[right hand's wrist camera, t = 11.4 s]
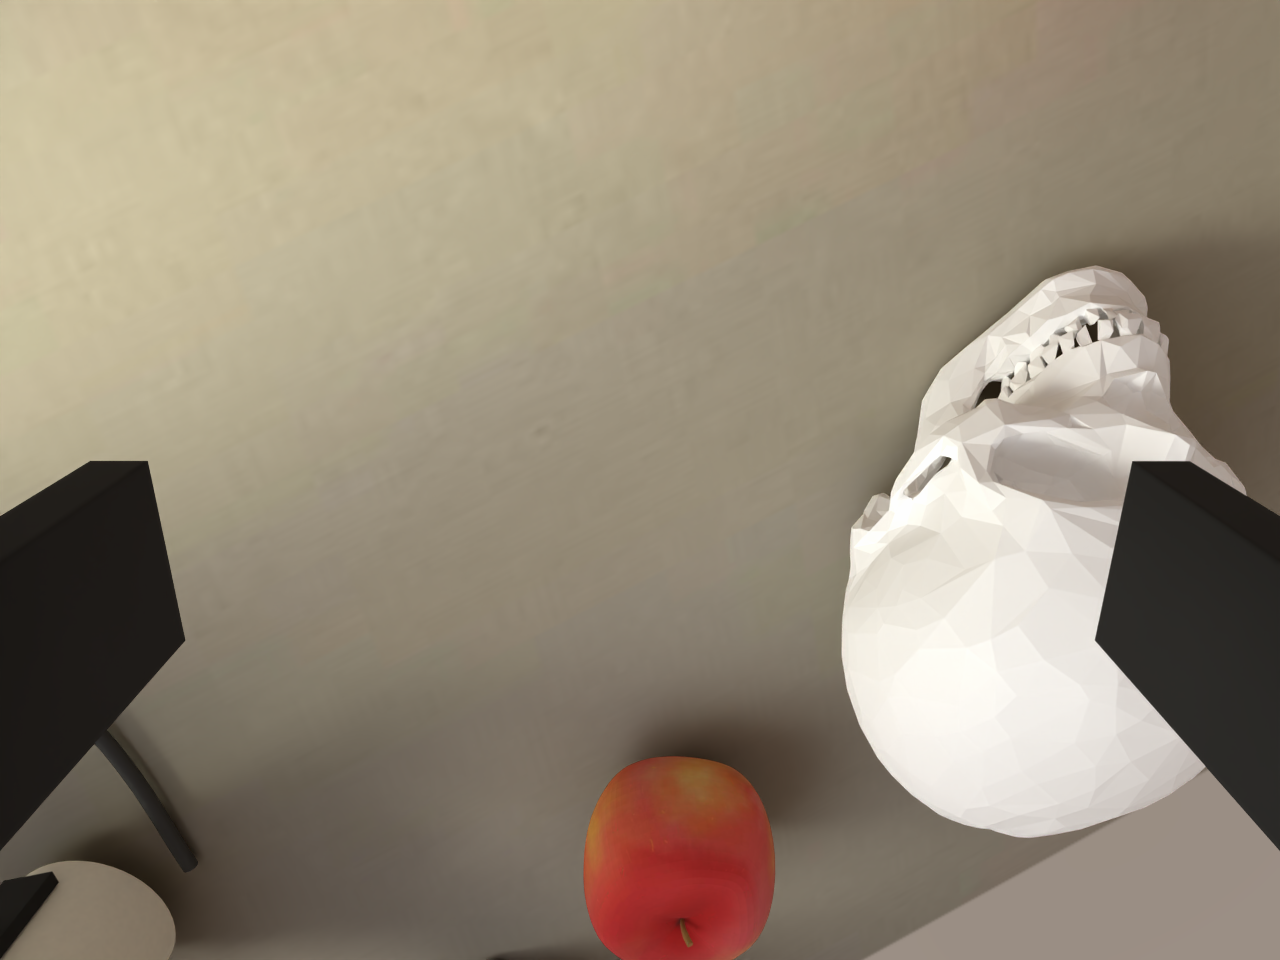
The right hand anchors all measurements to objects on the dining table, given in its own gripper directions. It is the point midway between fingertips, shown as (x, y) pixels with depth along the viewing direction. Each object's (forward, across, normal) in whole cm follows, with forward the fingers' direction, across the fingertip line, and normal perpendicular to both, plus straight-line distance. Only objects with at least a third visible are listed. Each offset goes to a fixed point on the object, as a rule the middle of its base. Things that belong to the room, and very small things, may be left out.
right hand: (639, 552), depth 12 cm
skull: (+28, +16, -11) cm, 34 cm away
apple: (+28, +2, -28) cm, 40 cm away
